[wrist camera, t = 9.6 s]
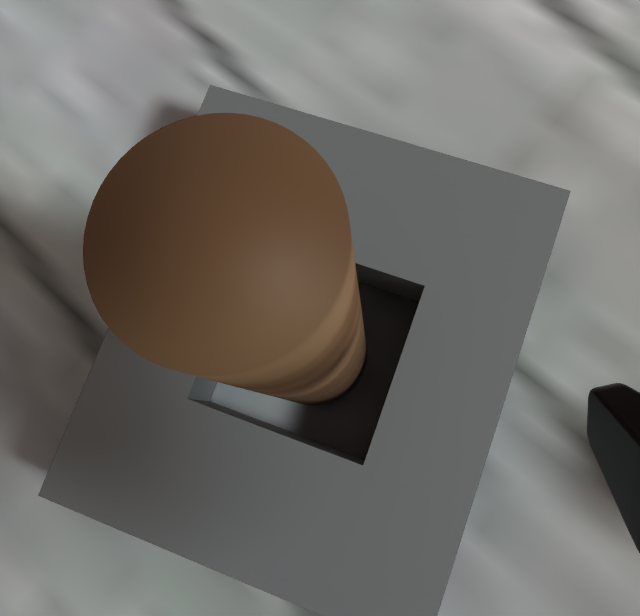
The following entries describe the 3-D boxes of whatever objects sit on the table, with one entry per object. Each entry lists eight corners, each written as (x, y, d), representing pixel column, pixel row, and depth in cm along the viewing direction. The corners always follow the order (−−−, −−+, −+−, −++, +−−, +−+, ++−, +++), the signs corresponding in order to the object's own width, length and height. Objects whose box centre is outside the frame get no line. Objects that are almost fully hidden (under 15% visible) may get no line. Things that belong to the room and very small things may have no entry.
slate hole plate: (417, 628, 19) (423, 658, 16) (78, 486, 21) (38, 495, 18) (547, 218, 21) (570, 191, 18) (228, 121, 23) (210, 84, 20)
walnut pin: (371, 400, 20) (361, 363, 8) (264, 408, 21) (82, 385, 8) (362, 295, 21) (339, 99, 8) (259, 304, 21) (83, 127, 9)
